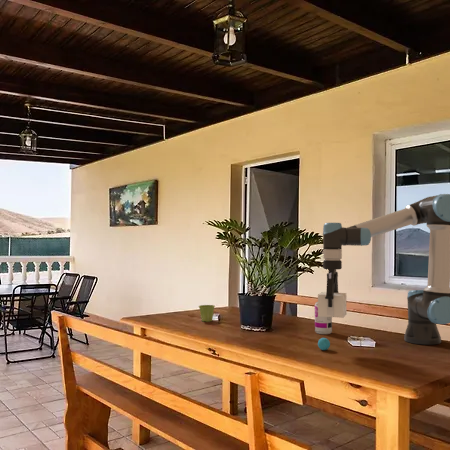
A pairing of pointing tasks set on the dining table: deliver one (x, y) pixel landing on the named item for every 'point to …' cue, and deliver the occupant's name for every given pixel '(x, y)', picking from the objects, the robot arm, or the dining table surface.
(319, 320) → the supplement can
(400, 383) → the dining table surface
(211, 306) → the plant pot
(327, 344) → the ball
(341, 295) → the off-white square block
